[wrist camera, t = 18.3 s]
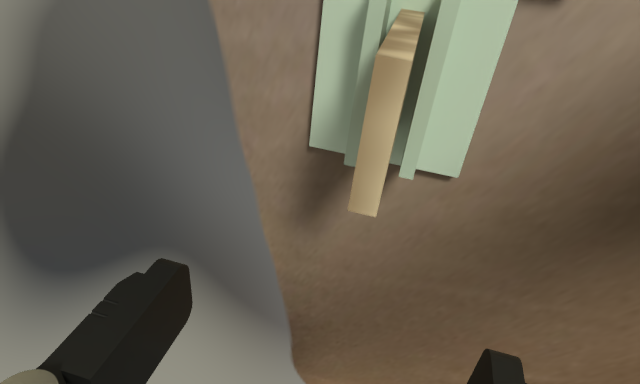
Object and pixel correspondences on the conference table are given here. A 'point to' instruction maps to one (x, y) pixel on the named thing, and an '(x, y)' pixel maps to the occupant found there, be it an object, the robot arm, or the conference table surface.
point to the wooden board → (384, 111)
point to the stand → (424, 83)
